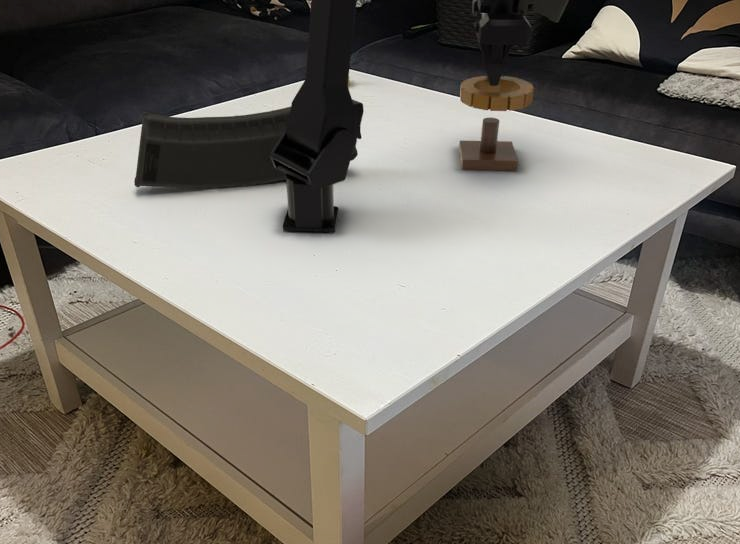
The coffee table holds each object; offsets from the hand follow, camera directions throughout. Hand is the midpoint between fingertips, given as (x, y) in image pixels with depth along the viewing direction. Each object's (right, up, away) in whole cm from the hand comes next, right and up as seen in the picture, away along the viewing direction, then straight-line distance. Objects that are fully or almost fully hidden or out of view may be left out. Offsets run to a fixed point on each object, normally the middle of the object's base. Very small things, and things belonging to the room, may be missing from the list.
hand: (493, 83), depth 102 cm
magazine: (-34, -14, +1) cm, 37 cm away
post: (0, -9, +7) cm, 11 cm away
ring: (0, -3, -3) cm, 4 cm away
